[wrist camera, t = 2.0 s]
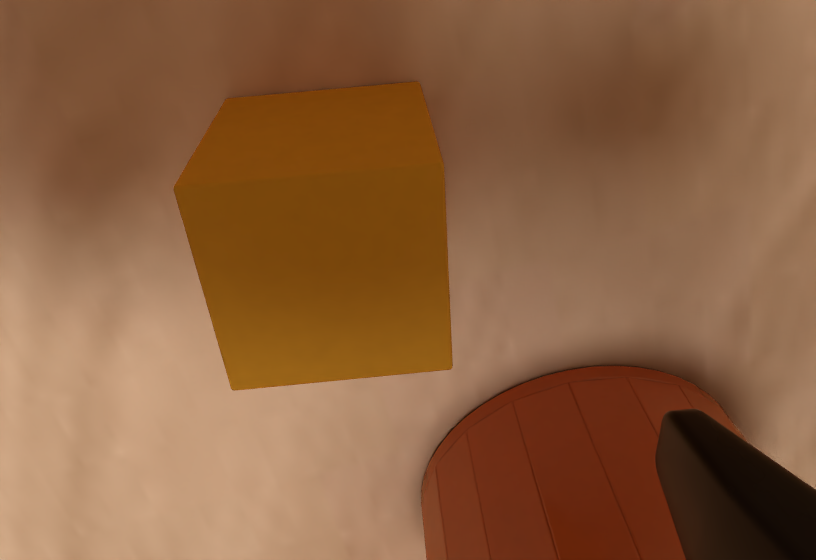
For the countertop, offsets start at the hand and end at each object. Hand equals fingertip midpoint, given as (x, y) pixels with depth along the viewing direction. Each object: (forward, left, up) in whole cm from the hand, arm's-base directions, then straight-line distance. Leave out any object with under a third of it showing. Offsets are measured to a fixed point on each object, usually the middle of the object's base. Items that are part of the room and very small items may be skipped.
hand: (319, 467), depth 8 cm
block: (0, 0, -9) cm, 9 cm away
